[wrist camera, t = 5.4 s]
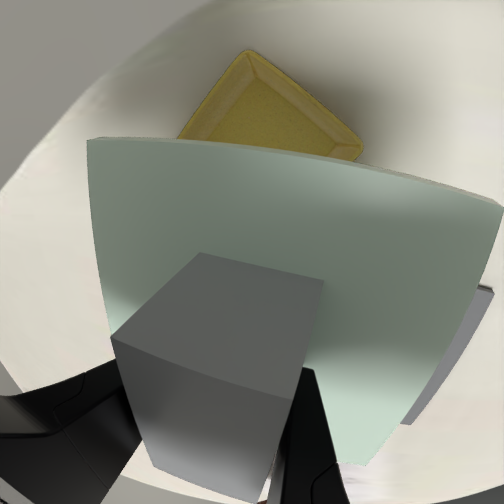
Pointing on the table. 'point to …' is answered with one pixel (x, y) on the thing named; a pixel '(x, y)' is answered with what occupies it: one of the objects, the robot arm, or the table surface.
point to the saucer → (269, 114)
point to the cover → (274, 295)
